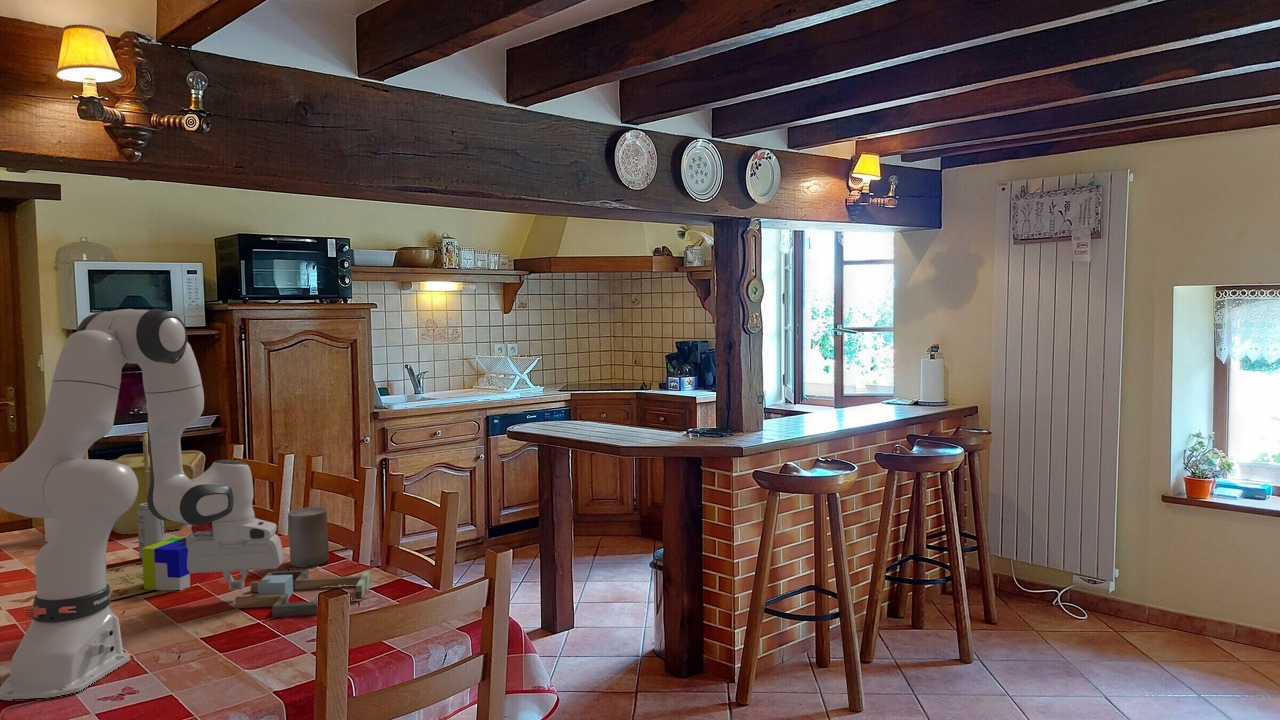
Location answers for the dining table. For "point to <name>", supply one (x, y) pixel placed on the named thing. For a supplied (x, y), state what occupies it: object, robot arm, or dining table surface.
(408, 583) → the dining table surface
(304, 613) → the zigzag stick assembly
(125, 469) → the robot arm
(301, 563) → the pillar candle
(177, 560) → the puzzle toy
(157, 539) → the energy drink can
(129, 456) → the picnic basket
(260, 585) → the block
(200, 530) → the pomegranate
